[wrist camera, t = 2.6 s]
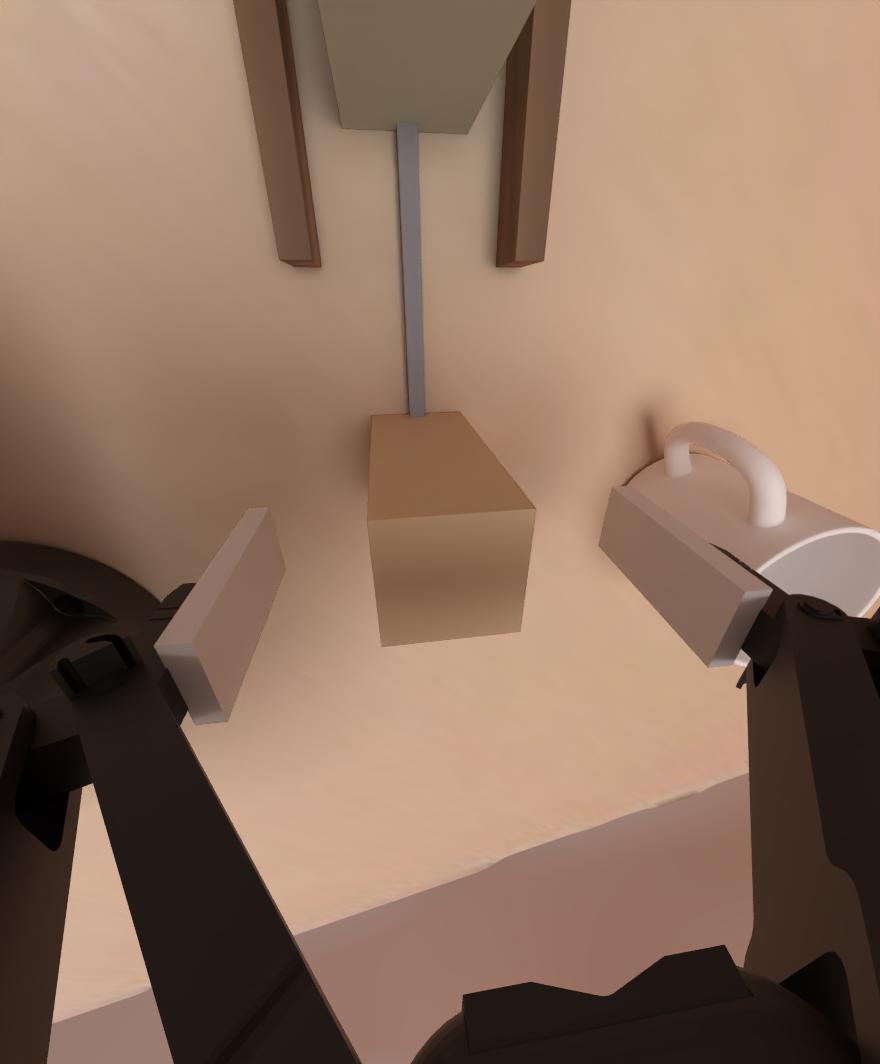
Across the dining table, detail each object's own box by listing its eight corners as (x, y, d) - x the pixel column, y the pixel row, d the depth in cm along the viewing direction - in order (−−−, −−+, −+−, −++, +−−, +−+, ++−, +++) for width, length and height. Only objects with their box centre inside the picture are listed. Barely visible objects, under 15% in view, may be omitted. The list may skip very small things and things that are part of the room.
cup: (619, 575, 29) (722, 689, 21) (578, 437, 23) (700, 515, 14) (726, 526, 28) (881, 624, 20) (713, 369, 22) (929, 409, 14)
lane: (293, 266, 17) (249, 245, 11) (215, -213, 11) (35, -793, 5) (520, 267, 18) (590, 248, 12) (555, -165, 13) (718, -598, 7)
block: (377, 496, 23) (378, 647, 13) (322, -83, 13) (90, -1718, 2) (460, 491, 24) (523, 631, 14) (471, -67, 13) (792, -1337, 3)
